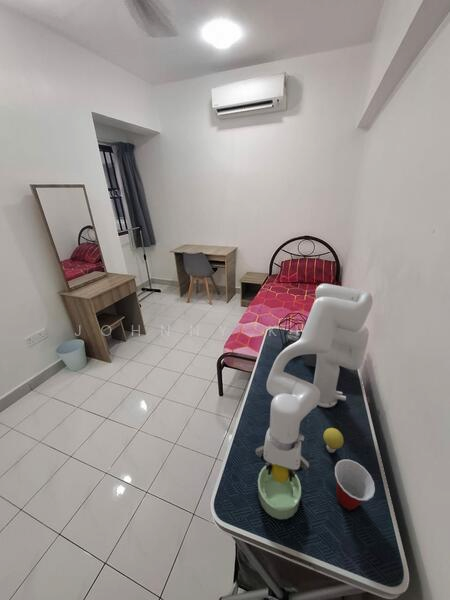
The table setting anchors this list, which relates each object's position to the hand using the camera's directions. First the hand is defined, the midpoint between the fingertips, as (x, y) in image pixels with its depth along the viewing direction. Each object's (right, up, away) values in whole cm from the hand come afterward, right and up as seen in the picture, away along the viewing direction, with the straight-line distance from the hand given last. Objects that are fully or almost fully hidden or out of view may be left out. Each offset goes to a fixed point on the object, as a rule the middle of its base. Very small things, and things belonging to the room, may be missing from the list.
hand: (280, 472), depth 72 cm
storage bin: (+36, +18, +59) cm, 72 cm away
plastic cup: (+22, -11, +4) cm, 25 cm away
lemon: (0, -3, +1) cm, 3 cm away
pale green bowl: (+1, -11, +6) cm, 12 cm away
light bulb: (+23, -4, +17) cm, 29 cm away
